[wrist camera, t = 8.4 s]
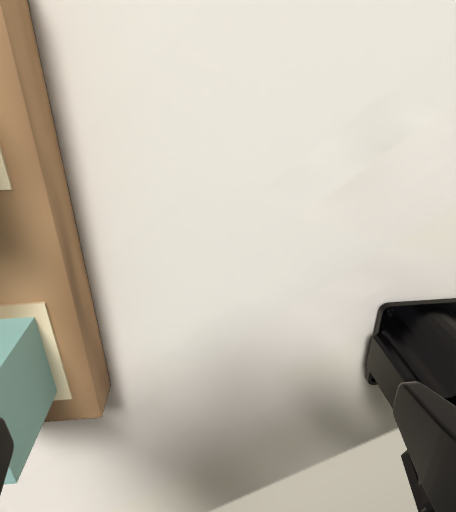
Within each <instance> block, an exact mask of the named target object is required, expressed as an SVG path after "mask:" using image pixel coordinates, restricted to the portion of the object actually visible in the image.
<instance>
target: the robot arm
mask: <svg viewBox="0 0 456 512" xmlns="http://www.w3.org/2000/svg"><path fill="white" fill-rule="evenodd" d="M388 310H390V311H389V312H387V311H388ZM386 312H387V313H386ZM366 366H367V370H366V375H365V378H366V379H367V381H368V383H369V384H371V385H377V384H378V385H379V387H380V389H381V390H382V392H383V394H384V395H385V397H386V398H387V400H388V402H389V403H390V405H391V407H392V408H393V414H394V417H395V420H396V422H397V425H398V427H399V430H400V432H401V435H402V437H403V440H404V442H405V445H406V447H407V451H405V452H404V453H403V454H402V455H401V457H402V461H403V464H404V467H405V471H406V474H407V477H408V480H409V483H410V486H411V490H412V493H413V496H414V499H415V502H416V505H417V509H418V512H456V298H452V299H437V300H421V301H405V302H389V303H385V304H383V305H382V306H381V307H380V309H379V313H378V318H377V323H376V327H375V332H374V335H373V336H372V339H371V344H370V349H369V354H368V359H367V364H366ZM13 451H14V441H13V438H12V436H11V434H10V432H9V429H8V427H7V425H6V422H5V420H4V419H3V418H1V417H0V495H1V491H2V488H3V485H4V481H5V478H6V475H7V471H8V468H9V465H10V462H11V458H12V455H13Z"/></svg>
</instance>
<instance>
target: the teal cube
mask: <svg viewBox="0 0 456 512" xmlns="http://www.w3.org/2000/svg"><path fill="white" fill-rule="evenodd" d="M56 393H57V390H56V386H55V383H54V380H53V376H52V373H51V370H50V367H49V363H48V360H47V357H46V353H45V350H44V347H43V344H42V340H41V337H40V334H39V330H38V327H37V324H36V321H35V317H26V318H9V319H0V417H1V418H3V419H4V420H5V422H6V425H7V427H8V429H9V432H10V434H11V436H12V438H13V441H14V451H13V455H12V458H11V462H10V465H9V468H8V471H7V475H6V478H5V481H4V484H14V483H17V481H18V479H19V477H20V474H21V472H22V470H23V468H24V465H25V463H26V461H27V459H28V456H29V454H30V452H31V450H32V447H33V445H34V443H35V440H36V438H37V436H38V434H39V431H40V429H41V427H42V425H43V422H44V420H45V418H46V416H47V413H48V411H49V409H50V406H51V404H52V402H53V400H54V397H55V395H56Z"/></svg>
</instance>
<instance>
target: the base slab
mask: <svg viewBox="0 0 456 512" xmlns="http://www.w3.org/2000/svg"><path fill="white" fill-rule="evenodd" d="M26 317H35V321H36V324H37V327H38V330H39V334H40V337H41V340H42V344H43V347H44V350H45V353H46V357H47V360H48V363H49V367H50V370H51V373H52V376H53V380H54V383H55V386H56V390H57V393H56V395H55V397H54V400H53V402H52V404H51V406H50V409H49V411H48V413H47V416H46V418H45V420H44V422H50V421H62V420H75V419H87V418H99V417H102V415H103V411H104V407H105V404H106V400H107V396H108V393H109V389H110V385H111V384H110V380H109V375H108V370H107V366H106V361H105V357H104V352H103V347H102V343H101V338H100V334H99V329H98V324H97V320H96V315H95V311H94V306H93V301H92V297H91V292H90V288H89V283H88V278H87V274H86V269H85V264H84V260H83V255H82V251H81V246H80V241H79V237H78V232H77V228H76V223H75V218H74V214H73V209H72V205H71V200H70V195H69V191H68V186H67V182H66V177H65V172H64V168H63V163H62V158H61V154H60V149H59V145H58V140H57V135H56V131H55V126H54V122H53V117H52V112H51V108H50V103H49V99H48V94H47V89H46V85H45V80H44V76H43V71H42V66H41V62H40V57H39V52H38V48H37V43H36V39H35V34H34V29H33V25H32V20H31V16H30V11H29V6H28V2H27V0H0V319H9V318H26Z"/></svg>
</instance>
